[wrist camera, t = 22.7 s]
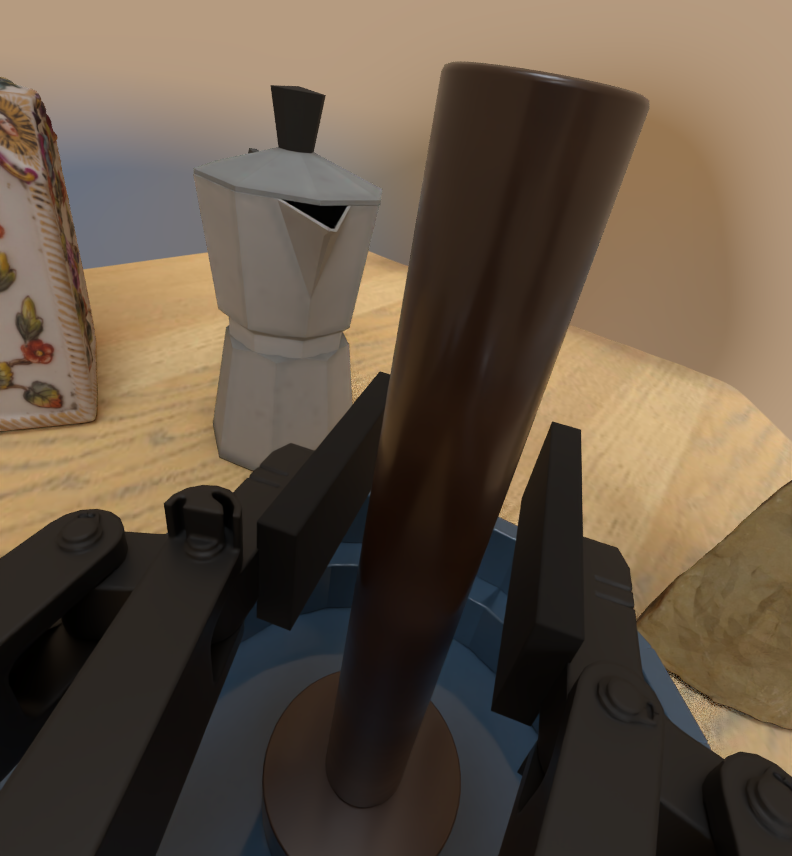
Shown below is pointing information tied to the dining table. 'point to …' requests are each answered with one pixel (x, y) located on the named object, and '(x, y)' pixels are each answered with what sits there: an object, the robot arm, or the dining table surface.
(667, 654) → the rock
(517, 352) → the upright rod on disc
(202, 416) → the dining table surface
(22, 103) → the decorative jar
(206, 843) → the bowl
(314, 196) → the coffee maker
